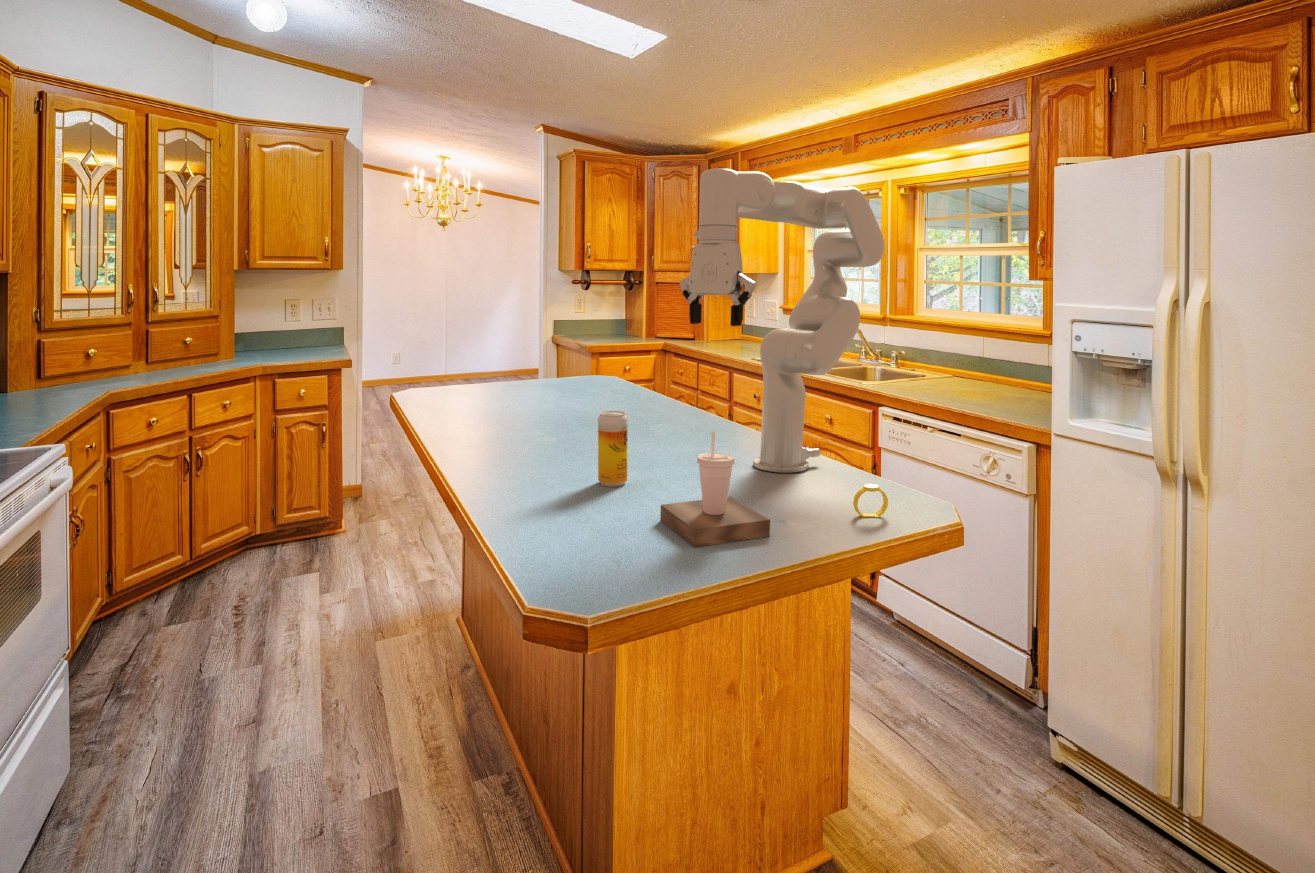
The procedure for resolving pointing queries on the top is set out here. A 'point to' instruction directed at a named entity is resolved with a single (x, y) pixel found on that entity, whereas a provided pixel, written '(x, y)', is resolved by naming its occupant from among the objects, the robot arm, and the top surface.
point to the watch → (871, 488)
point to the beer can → (612, 448)
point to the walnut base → (714, 523)
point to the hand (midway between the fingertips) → (715, 324)
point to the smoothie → (715, 479)
